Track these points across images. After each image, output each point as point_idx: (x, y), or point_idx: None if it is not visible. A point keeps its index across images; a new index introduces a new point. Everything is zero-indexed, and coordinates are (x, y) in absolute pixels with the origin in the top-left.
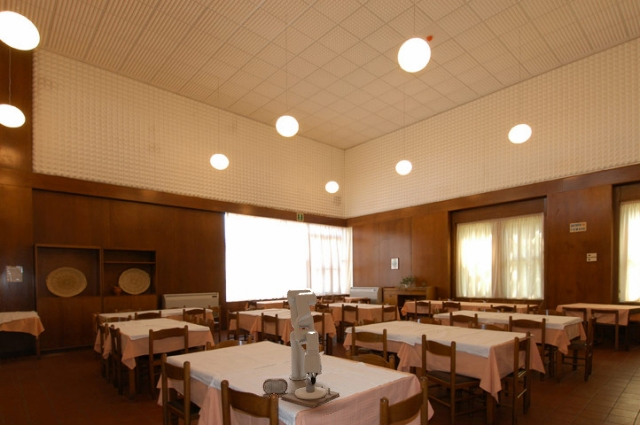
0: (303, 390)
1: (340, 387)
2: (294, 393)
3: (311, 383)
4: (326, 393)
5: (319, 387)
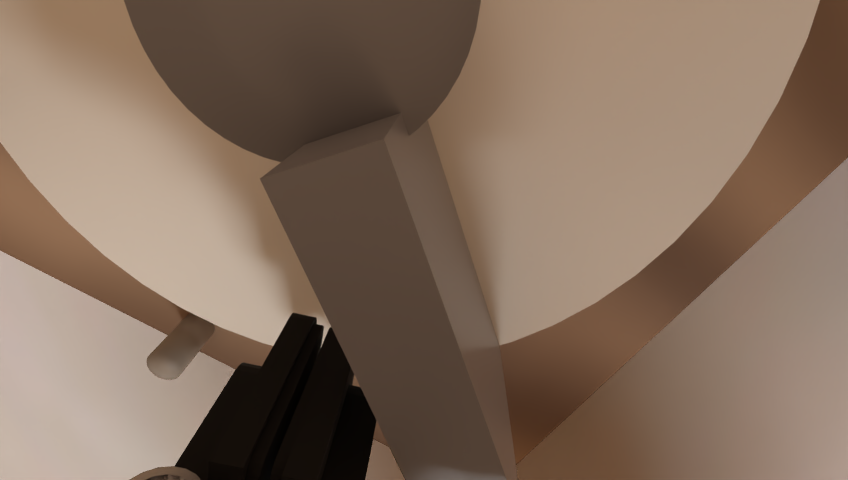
0: (559, 81)
1: (35, 470)
2: None
3: None
4: None
5: (201, 305)
